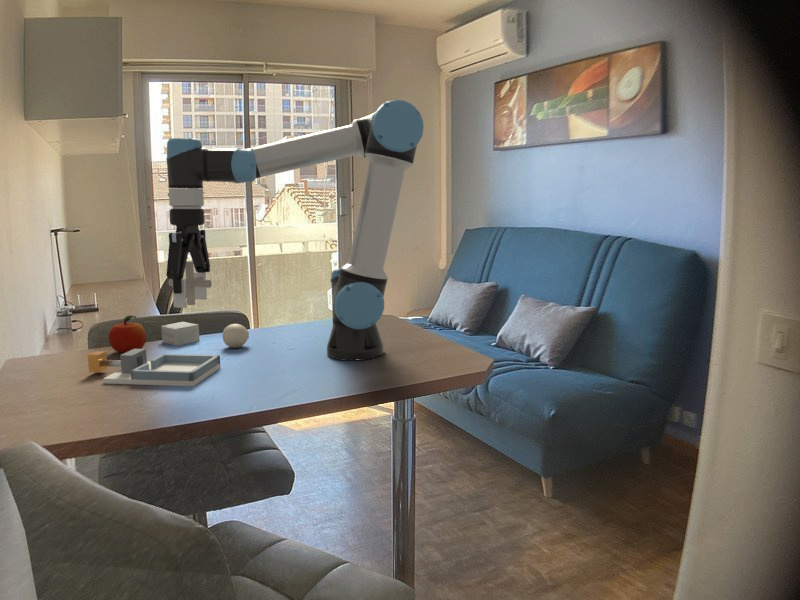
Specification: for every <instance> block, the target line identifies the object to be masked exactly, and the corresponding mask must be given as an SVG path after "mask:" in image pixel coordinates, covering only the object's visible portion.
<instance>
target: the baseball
mask: <svg viewBox="0 0 800 600" xmlns="http://www.w3.org/2000/svg"><path fill="white" fill-rule="evenodd" d="M249 339H250V333H249V330H248V329H247V328H246V327H245V326H244V325H242V324H240V323H230V324H229V325H227V326H226V327H224V329H223V332H222V340H223V343H224V344H225V345H226V346H228V347H229V348H235V349H237V348H240V347H243V346H244V345H245V344H246V343H247V341H248V340H249Z"/></svg>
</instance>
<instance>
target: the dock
mask: <svg viewBox="0 0 800 600" xmlns="http://www.w3.org/2000/svg"><path fill="white" fill-rule="evenodd" d="M119 356H120V359H119V360H121V367H120V369H119V370H117V371H115V372H113V373H111V374H109V375H107V376H106V377H103V378H102V381H103V384H108V385H109V384H111V385H138V386H139V385H143V386H147V385H149V386H170V387H171V386H172V387H174V386H176V387H178V386H179V387H194V386H196V385H198V384H199V383H200V382H203V380H206V378H208V377H209V376H211V375H212V374H213V373H215V372H217V371H218V370H219V369H221V367H222V366H221V355H219V354H214V355H213V354H186V353H185V354H179V353H178V354H175V353H173V354H172V353H162V354H161V355H158V356H156V357H154V358H153V359H151V360H147V349H146V348H142V349H133V350H130V351H128V352H126V353H124V354H122V353H121V354H120V355H119Z"/></svg>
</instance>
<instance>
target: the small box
mask: <svg viewBox="0 0 800 600" xmlns="http://www.w3.org/2000/svg"><path fill="white" fill-rule="evenodd" d="M160 328H161V336H162V337H161V339H162V343H165V344H169V345H172V346H177V347H178V346H182V345H186V344H190V343H195V342H199V341H200V328H199V324H198V323H191V322H186V321H180V322H179V321H178V322H174V323H170V324H169V323H168V324H163V325H161V327H160Z"/></svg>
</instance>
